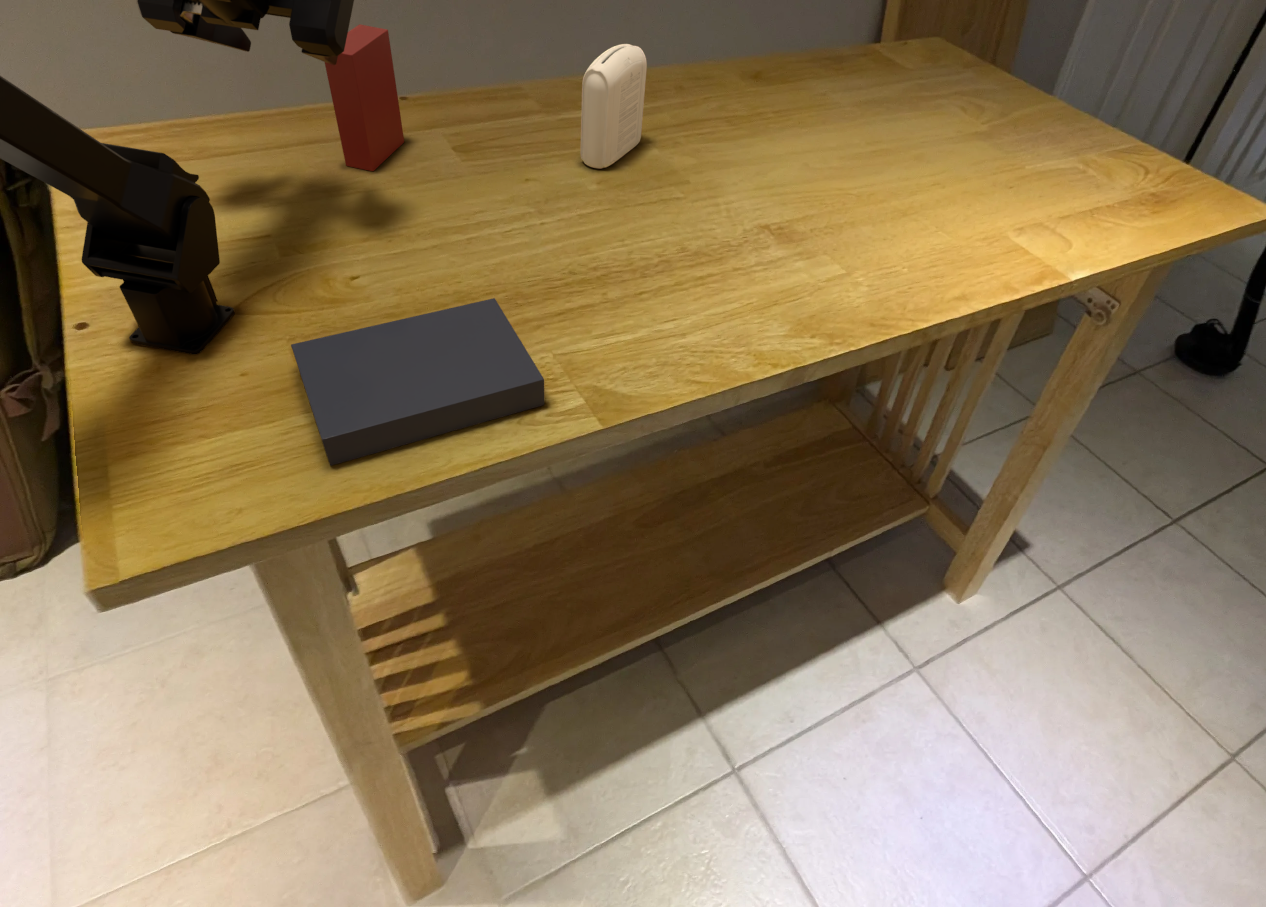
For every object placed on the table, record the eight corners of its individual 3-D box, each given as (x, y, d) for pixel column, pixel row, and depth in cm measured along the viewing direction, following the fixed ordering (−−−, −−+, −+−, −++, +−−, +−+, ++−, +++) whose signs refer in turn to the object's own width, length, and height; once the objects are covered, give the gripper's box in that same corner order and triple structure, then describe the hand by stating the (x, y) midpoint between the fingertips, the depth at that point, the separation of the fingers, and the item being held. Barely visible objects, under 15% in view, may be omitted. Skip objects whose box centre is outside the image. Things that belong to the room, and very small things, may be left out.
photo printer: (616, 132, 103) (622, 31, 94) (645, 141, 102) (653, 40, 93) (575, 163, 97) (576, 58, 88) (605, 173, 96) (610, 68, 86)
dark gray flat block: (330, 466, 61) (321, 439, 59) (299, 371, 68) (290, 344, 66) (545, 404, 68) (545, 378, 66) (497, 323, 75) (495, 297, 73)
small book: (373, 171, 92) (352, 55, 82) (345, 165, 92) (321, 49, 83) (405, 141, 97) (388, 29, 88) (378, 136, 98) (359, 23, 88)
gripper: (325, -132, 64) (395, -11, 79) (109, -161, 65) (220, -37, 81) (298, 2, 63) (374, 97, 79) (82, -30, 65) (199, 69, 80)
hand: (291, 53), depth 80 cm, fingers open, 9 cm apart
